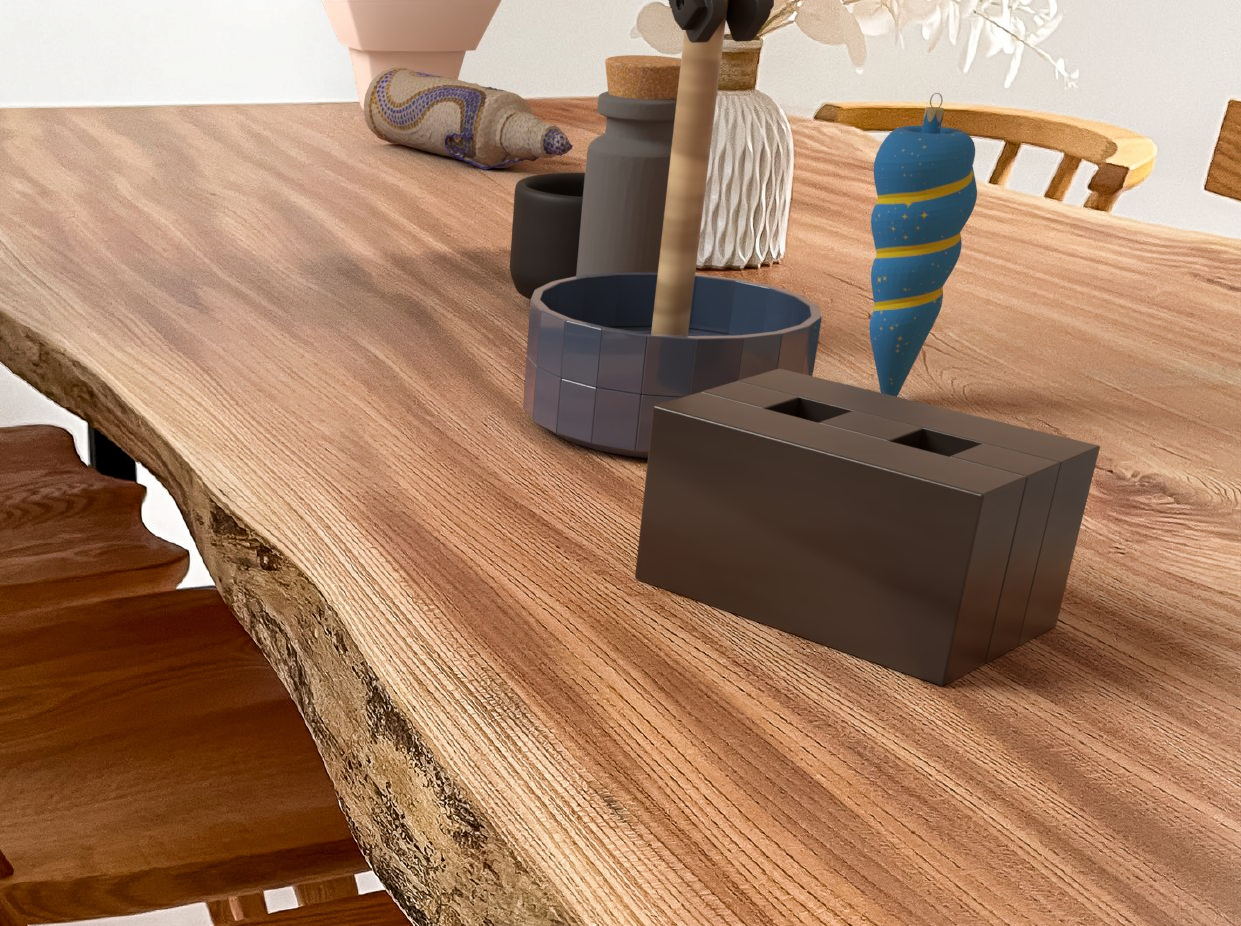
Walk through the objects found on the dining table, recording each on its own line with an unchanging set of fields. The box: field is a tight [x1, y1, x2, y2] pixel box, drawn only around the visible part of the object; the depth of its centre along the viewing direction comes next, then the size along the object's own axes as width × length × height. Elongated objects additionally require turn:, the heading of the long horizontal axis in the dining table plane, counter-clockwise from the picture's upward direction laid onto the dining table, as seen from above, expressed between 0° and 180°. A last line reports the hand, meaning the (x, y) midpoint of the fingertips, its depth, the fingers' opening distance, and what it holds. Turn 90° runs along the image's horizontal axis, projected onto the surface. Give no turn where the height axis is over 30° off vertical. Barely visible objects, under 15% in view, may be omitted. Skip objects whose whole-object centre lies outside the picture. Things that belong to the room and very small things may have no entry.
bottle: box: [576, 54, 681, 276], centre depth 100 cm, size 6×6×15 cm
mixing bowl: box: [522, 272, 823, 459], centre depth 87 cm, size 14×14×6 cm
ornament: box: [869, 92, 978, 397], centre depth 89 cm, size 5×5×15 cm
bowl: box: [321, 0, 502, 112], centre depth 177 cm, size 19×19×14 cm
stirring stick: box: [651, 0, 728, 336], centre depth 82 cm, size 2×2×19 cm
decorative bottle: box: [363, 67, 573, 170], centre depth 156 cm, size 26×8×7 cm, turn 33°
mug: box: [509, 172, 585, 300], centre depth 108 cm, size 12×9×7 cm
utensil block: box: [634, 369, 1101, 687], centre depth 67 cm, size 8×14×7 cm, turn 44°
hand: (732, 28), depth 78 cm, fingers closed on stirring stick, 2 cm apart
